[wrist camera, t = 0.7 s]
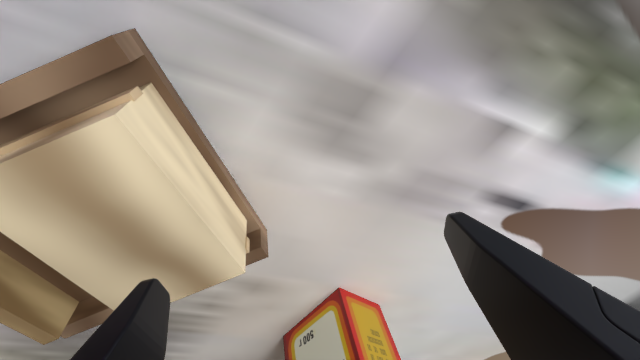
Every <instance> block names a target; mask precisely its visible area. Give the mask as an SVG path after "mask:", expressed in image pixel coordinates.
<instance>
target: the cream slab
mask: <svg viewBox="0 0 640 360" xmlns="http://www.w3.org/2000/svg"><path fill="white" fill-rule="evenodd" d="M246 231H247V220H246V218H245V217H244V215H243V214H242V213H241V211H240V210H239V208H238V207H237V205H236V204H235V202H234V201H233V200H232V198H231V197H230V195H229V194H228V192H227V191H226V189H225V188H224V187H223V185H222V184H221V182H220V181H219V179H218V178H217V176H216V175H215V174H214V172H213V171H212V169H211V168H210V166H209V165H208V163H207V162H206V161H205V159H204V158H203V156H202V155H201V153H200V152H199V150H198V149H197V148H196V146H195V145H194V143H193V142H192V140H191V139H190V138H189V136H188V135H187V133H186V132H185V130H184V129H183V127H182V126H181V125H180V123H179V122H178V120H177V119H176V117H175V116H174V114H173V113H172V112H171V110H170V109H169V107H168V106H167V104H166V103H165V101H164V100H163V99H162V97H161V96H160V94H159V93H158V91H157V90H156V88H155V87H154V86H153V84H152V83H149V84H146V85H144V86H142V87H140V88H139V87H138V86H136V87H134V88H131V89H129V90H127V91H124V92H122V93H120V94H117V95H115V96H113V97H111V98H108V99H106V100H104V101H101V102H99V103H97V104H94V105H92V106H90V107H87V108H85V109H83V110H80V111H78V112H76V113H73V114H71V115H69V116H66V117H64V118H62V119H59V120H57V121H55V122H52V123H50V124H48V125H45V126H43V127H41V128H39V129H36V130H34V131H32V132H29V133H27V134H25V135H22V136H20V137H18V138H15V139H13V140H11V141H8V142H6V143H4V144H1V145H0V232H1V233H3V234H4V235H6V236H7V237H9V238H10V239H11V240H13V241H14V242H16V243H17V244H19V245H20V246H22V247H23V248H24V249H26V250H27V251H29V252H30V253H32V254H33V255H35V256H36V257H37V258H39V259H40V260H42V261H43V262H45V263H46V264H47V265H49V266H50V267H52V268H53V269H55V270H56V271H58V272H59V273H60V274H62V275H63V276H65V277H66V278H68V279H69V280H71V281H72V282H73V283H75V284H76V285H78V286H79V287H81V288H82V289H83V290H85V291H86V292H88V293H89V294H91V295H92V296H94V297H95V298H96V299H98V300H99V301H101V302H102V303H104V304H105V305H107V306H108V307H109V308H111V309H112V310H115V309H116V308H117V307H118V306H119V305H120V303H121V302H122V301H123V300H124V299H125V298H126V297H127V296H128V295H129V293H130V292H131V291H132V290H133V289H134V288H135V287H136V286H137V285H138V283H140V282H141V281H143V280H147V279H152V278H156V279H158V280H159V281H160V282H161V284H162V285H163V286H164V287H165V289H166V290H167V291H168V292H169V295H170V303H171V302H174V301H176V300H179V299H181V298H184V297H186V296H189V295H191V294H194V293H196V292H199V291H201V290H204V289H206V288H209V287H211V286H214V285H216V284H219V283H221V282H224V281H226V280H229V279H231V278H234V277H236V276H239V275H241V274H244V273H245V265H246V254H247V253H249V247H250V240H249V238H248V237H247V236H246Z"/></svg>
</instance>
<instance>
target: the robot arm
mask: <svg viewBox="0 0 640 360" xmlns="http://www.w3.org/2000/svg"><path fill="white" fill-rule="evenodd" d="M444 236H445V239H446V242H447V244H448V246H449V248H450V250H451V253H452V255H453V257H454V259H455V261H456V264H457V266H458V268H459V270H460V272H461V275H462V277H463V279H464V281H465V283H466V285H467V286H468V288H469V290H470V292H471V293H472V295H473V297H474V298H475V300H476V302H477V303H478V305H479V307H480V308H481V310H482V312H483V314H484V315H485V317H486V319H487V320H488V322H489V324H490V325H491V327H492V329H493V330H494V332H495V334H496V335H497V337H498V339H499V340H500V342H501V344H502V345H503V347H504V349H505V350H506V352H507V354H508V355H509V357H510V359H511V360H640V311H639V310H637V309H635V308H633V307H631V306H630V305H628V304H626V303H624V302H622V301H620V300H619V299H617V298H615V297H613V296H611V295H609V294H608V293H606V292H604V291H602V290H600V289H599V288H597V287H595V286H593V287H592V285H591V284H590V283H588V282H586V281H584V280H582V279H581V278H579V277H577V276H575V275H573V274H572V273H570V272H568V271H566V270H565V269H563V268H561V267H559V266H557V265H555V264H554V263H552V262H550V261H549V260H546V259H545V258H543V257H541V256H540V255H538V254H536V253H534V252H532V251H531V250H529V249H527V248H525V247H524V246H522V245H520V244H518V243H516V242H515V241H513V240H511V239H509V238H507V237H506V236H504V235H502V234H500V233H499V232H497V231H495V230H493V229H491V228H490V227H488V226H486V225H484V224H482V223H481V222H479V221H477V220H475V219H474V218H472V217H470V216H468V215H466V214H465V213H463V212H455V213H451V214H448V215H447V217H446V222H445V229H444ZM169 309H170V295H169V292H168V291H167V290H166V289H165V287H164V286H163V285H162V284H161V282H160V281H159V280H158V279H156V278H152V279H147V280H143V281H141V282H140V283H138V285H137V286H136V287H135V288H134V289H133V290H132V291H131V292H130V293H129V295H128V296H127V297H126V298H125V299H124V300H123V301H122V302H121V303H120V305H119V306H118V307H117V308H116V309H115V310H114V311H113V312H112V313H111V315H110V316H109V317H108V318H107V319H106V320H105V321H104V322H103V324H102V325H101V326H100V327H99V328H98V329H97V330H96V331H95V332H94V334H93V335H92V336H91V337H90V338H89V339H88V340H87V341H86V342H85V344H84V345H83V346H82V347H81V348H80V349H79V350H78V351H77V352H76V354H75V355H74V356H73V357H72V358H71V359H70V360H164V357H165V351H166V343H167V332H168V320H169Z"/></svg>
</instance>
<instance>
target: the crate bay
mask: <svg viewBox="0 0 640 360" xmlns="http://www.w3.org/2000/svg"><path fill="white" fill-rule="evenodd" d="M149 83H152V84H153V86H154V87H155V88H156V90H157V91H158V93H159V94H160V96H161V97H162V99H163V100H164V101H165V103H166V104H167V106H168V107H169V109H170V110H171V112H172V113H173V114H174V116H175V117H176V119H177V120H178V122H179V123H180V125H181V126H182V127H183V129H184V130H185V132H186V133H187V135H188V136H189V138H190V139H191V140H192V142H193V143H194V145H195V146H196V148H197V149H198V150H199V152H200V153H201V155H202V156H203V158H204V159H205V161H206V162H207V163H208V165H209V166H210V168H211V169H212V171H213V172H214V174H215V175H216V176H217V178H218V179H219V181H220V182H221V184H222V185H223V187H224V188H225V189H226V191H227V192H228V194H229V195H230V197H231V198H232V200H233V201H234V202H235V204H236V205H237V207H238V208H239V210H240V211H241V213H242V214H243V215H244V217H245V218H246V220H247V231H246V236H247V237H248V238H249V240H250V247H249V253H247V254H246V265H245V266H247V265H249V264H252V263H254V262H256V261H259V260H261V259H264V258H266V257H268V244H267V230H266V228H265V226H264V225H263V223H262V222H261V220H260V219H259V217H258V216H257V214H256V213H255V211H254V210H253V208H252V207H251V205H250V204H249V202H248V201H247V199H246V197H245V196H244V194H243V193H242V191H241V190H240V188H239V187H238V185H237V184H236V182H235V181H234V179H233V178H232V176H231V175H230V173H229V171H228V170H227V168H226V167H225V165H224V164H223V162H222V161H221V159H220V158H219V156H218V155H217V153H216V152H215V150H214V149H213V147H212V146H211V144H210V142H209V141H208V139H207V138H206V136H205V135H204V133H203V132H202V130H201V129H200V127H199V126H198V124H197V123H196V121H195V120H194V118H193V117H192V115H191V113H190V112H189V110H188V109H187V107H186V106H185V104H184V103H183V101H182V100H181V98H180V97H179V95H178V94H177V92H176V91H175V89H174V87H173V86H172V84H171V83H170V81H169V80H168V78H167V77H166V75H165V74H164V72H163V71H162V69H161V68H160V66H159V65H158V63H157V62H156V60H155V58H154V57H153V55H152V54H151V52H150V51H149V49H148V48H147V46H146V45H145V43H144V42H143V40H142V39H141V37H140V36H139V34H138V33H137V31H136V29H135V28H134V29H131V30H128V31H124V32H121V33H118V34H115V35H111V36H109V37H107V38H105V39H102V40H100V41H98V42H95V43H93V44H91V45H89V46H86V47H84V48H82V49H79V50H77V51H75V52H73V53H70V54H68V55H66V56H64V57H61V58H59V59H57V60H54V61H52V62H50V63H48V64H45V65H43V66H41V67H38V68H36V69H34V70H32V71H29V72H27V73H25V74H22V75H20V76H18V77H16V78H13V79H11V80H9V81H6V82H4V83H2V84H0V145H1V144H4V143H6V142H8V141H11V140H13V139H15V138H18V137H20V136H22V135H25V134H27V133H29V132H32V131H34V130H36V129H39V128H41V127H43V126H45V125H48V124H50V123H52V122H55V121H57V120H59V119H62V118H64V117H66V116H69V115H71V114H73V113H76V112H78V111H80V110H83V109H85V108H87V107H90V106H92V105H94V104H97V103H99V102H101V101H104V100H106V99H108V98H111V97H113V96H115V95H117V94H120V93H122V92H124V91H127V90H129V89H131V88H134V87H136V86H138V87H139V88H140V87H142V86H144V85H146V84H149ZM113 311H114V310H112V309H111V308H109V307H108V306H107V305H105V304H104V303H102V302H101V301H99V300H98V299H96V298H95V297H94V296H92V295H91V294H89V293H88V292H86V291H85V290H83V289H82V288H81V287H79V286H78V285H76V284H75V283H73V282H72V281H71V280H69V279H68V278H66V277H65V276H63V275H62V274H60V273H59V272H58V271H56V270H55V269H53V268H52V267H50V266H49V265H47V264H46V263H45V262H43V261H42V260H40V259H39V258H37V257H36V256H35V255H33V254H32V253H30V252H29V251H27V250H26V249H24V248H23V247H22V246H20V245H19V244H17V243H16V242H14V241H13V240H11V239H10V238H9V237H7V236H6V235H4V234H3V233H1V232H0V323H2V324H4V325H6V326H8V327H10V328H12V329H14V330H16V331H18V332H19V333H21V334H23V335H25V336H27V337H29V338H31V339H33V340H35V341H37V342H39V343H41V344H43V345H44V344H47V343H49V342H52V341H54V340H57V339H59V337H60V336H61V337H63V338H68V337H70V336H73V335H75V334H78V333H80V332H83V331H85V330H88V329H90V328H93V327H95V326H98V325H100V324H102V323H103V322H104V321H105V320H106V319H107V318H108V317H109V316H110V315H111V313H112V312H113Z"/></svg>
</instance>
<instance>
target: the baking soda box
mask: <svg viewBox="0 0 640 360" xmlns="http://www.w3.org/2000/svg"><path fill="white" fill-rule="evenodd" d="M283 340H284V351H285V360H401V358H400V356H399V353H398V351H397V348H396V346H395V343H394V341H393V338H392V336H391V333H390V331H389V328H388V326H387V323H386V321H385V318H384V316H383V313H382V311H381V308H380V306H379V305H378V304H376V303H374V302H371V301H369V300H367V299H364V298H362V297H360V296H357V295H355V294H353V293H351V292H348V291H346V290H344V289H341V288H338V289H337V290H336V291H335V292H333V293H332V294H331V295H330V296H329V297H328V298H327V299H325V300H324V301H323V302H322V303H321V304H320V305H319V306H317V307H316V308H315V309H314V310H313V311H312V312H310V313H309V314H308V315H307V316H306V317H305V318H304V319H302V320H301V321H300V322H299V323H298V324H297V325H296V326H294V327H293V328H292V329H291V330H290V331H289V332H288V333H286V334H285V335H284V336H283Z"/></svg>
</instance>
